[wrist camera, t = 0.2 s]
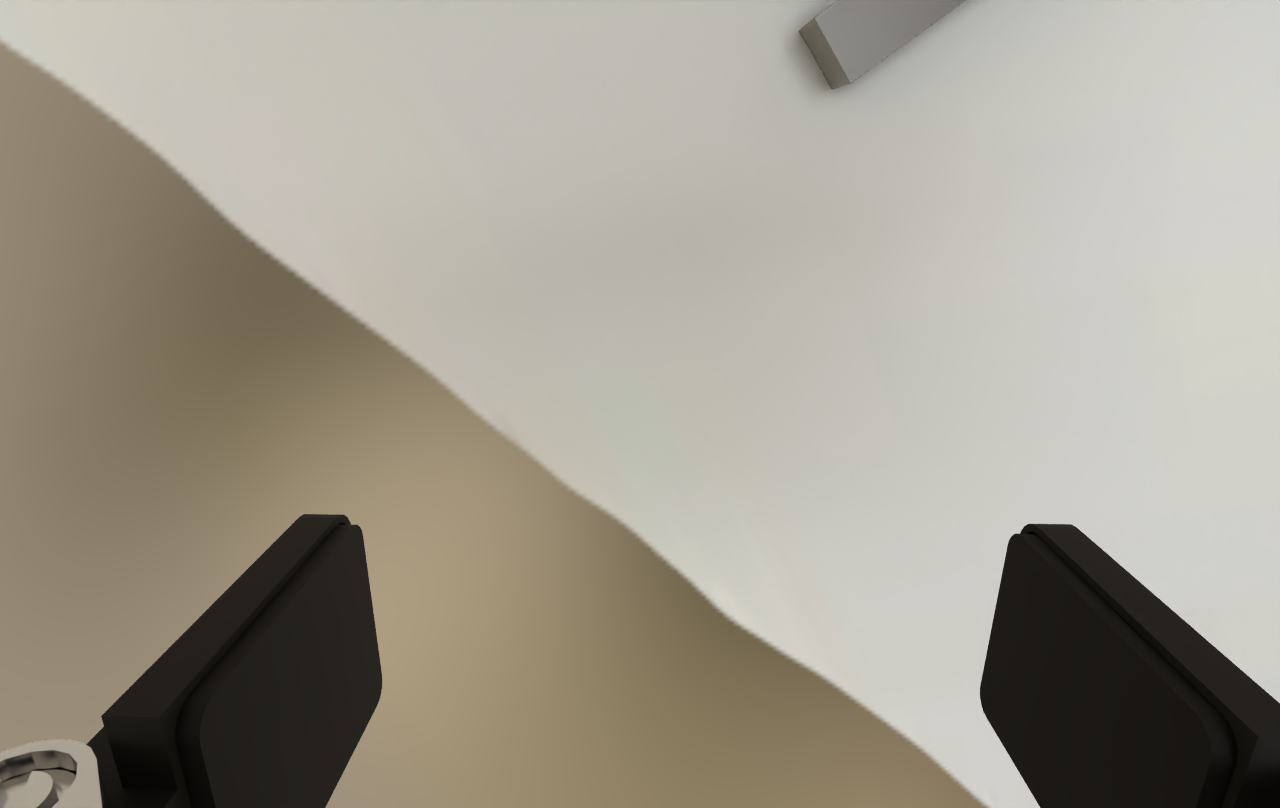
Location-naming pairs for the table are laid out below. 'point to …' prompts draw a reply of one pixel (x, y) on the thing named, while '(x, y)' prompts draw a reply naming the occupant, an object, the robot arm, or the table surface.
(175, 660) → the robot arm
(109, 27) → the table surface
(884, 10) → the grey and orange bar
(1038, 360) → the table surface
